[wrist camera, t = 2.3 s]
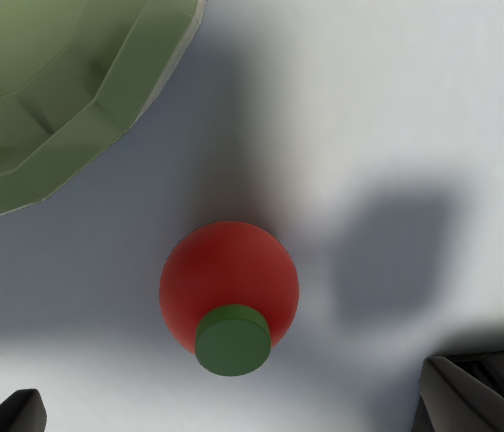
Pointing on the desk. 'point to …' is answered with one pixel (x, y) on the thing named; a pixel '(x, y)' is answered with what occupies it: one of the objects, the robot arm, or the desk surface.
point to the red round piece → (229, 295)
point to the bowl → (79, 82)
